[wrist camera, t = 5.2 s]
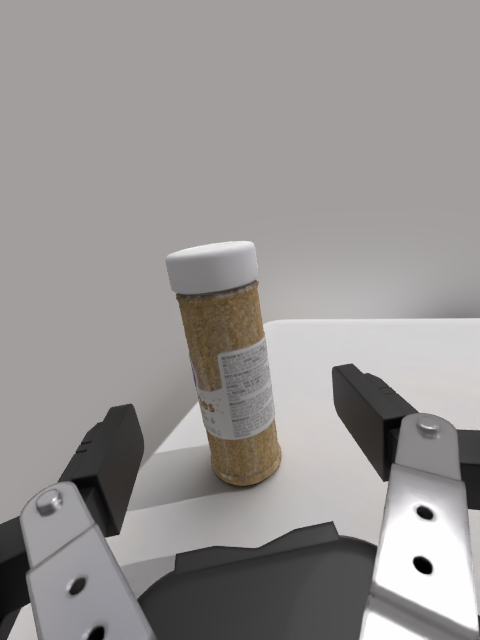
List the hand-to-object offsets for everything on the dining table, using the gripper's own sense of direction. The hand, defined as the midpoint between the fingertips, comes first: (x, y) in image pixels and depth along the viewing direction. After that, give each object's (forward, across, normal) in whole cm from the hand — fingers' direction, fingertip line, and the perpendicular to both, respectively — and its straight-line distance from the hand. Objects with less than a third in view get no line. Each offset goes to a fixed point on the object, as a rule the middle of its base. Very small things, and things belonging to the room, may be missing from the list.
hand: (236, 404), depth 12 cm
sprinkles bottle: (+5, 0, +8) cm, 9 cm away
